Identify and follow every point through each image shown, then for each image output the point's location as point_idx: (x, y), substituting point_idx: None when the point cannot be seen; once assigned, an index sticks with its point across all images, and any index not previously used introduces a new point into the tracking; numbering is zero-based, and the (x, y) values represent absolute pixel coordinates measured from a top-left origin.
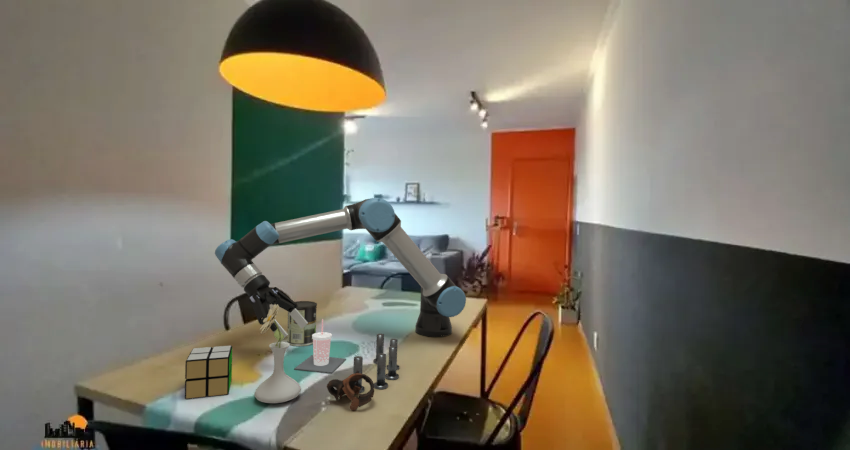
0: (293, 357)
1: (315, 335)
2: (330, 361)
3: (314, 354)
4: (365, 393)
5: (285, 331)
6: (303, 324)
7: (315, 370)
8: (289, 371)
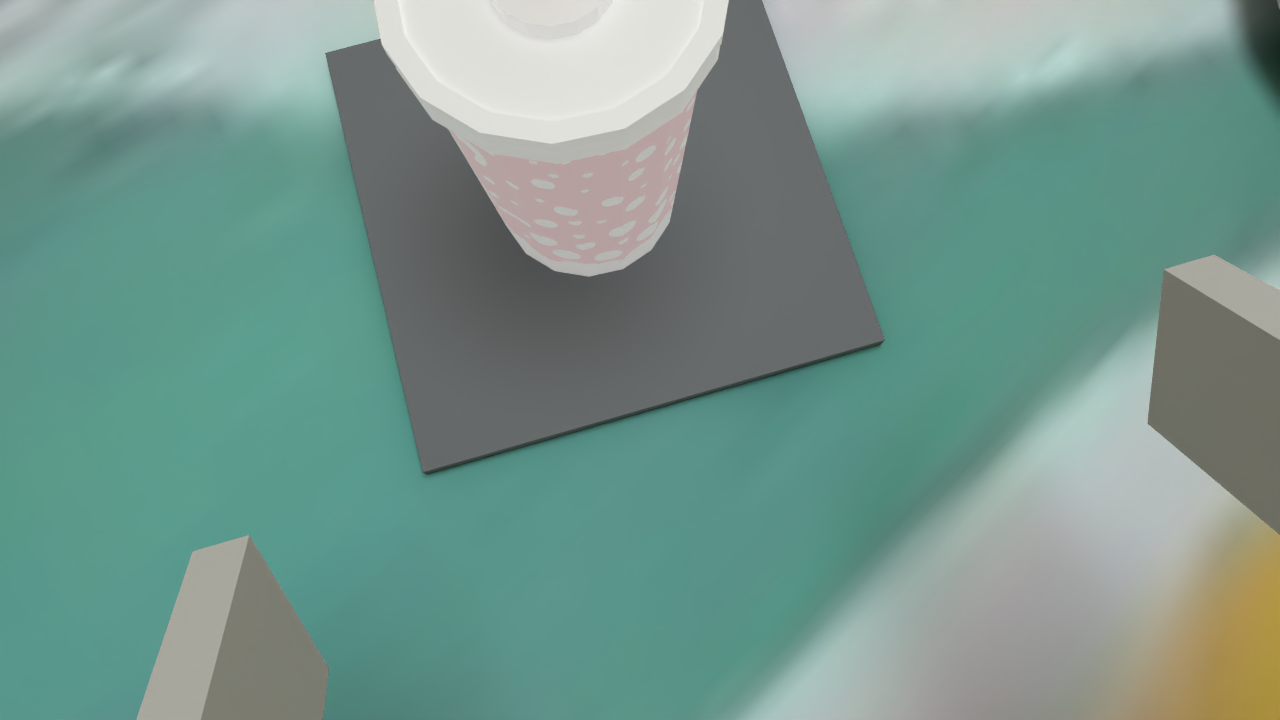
0: (572, 656)
1: (620, 68)
2: None
3: (679, 168)
4: None
5: (1230, 311)
6: (279, 630)
7: (794, 109)
8: (946, 356)
